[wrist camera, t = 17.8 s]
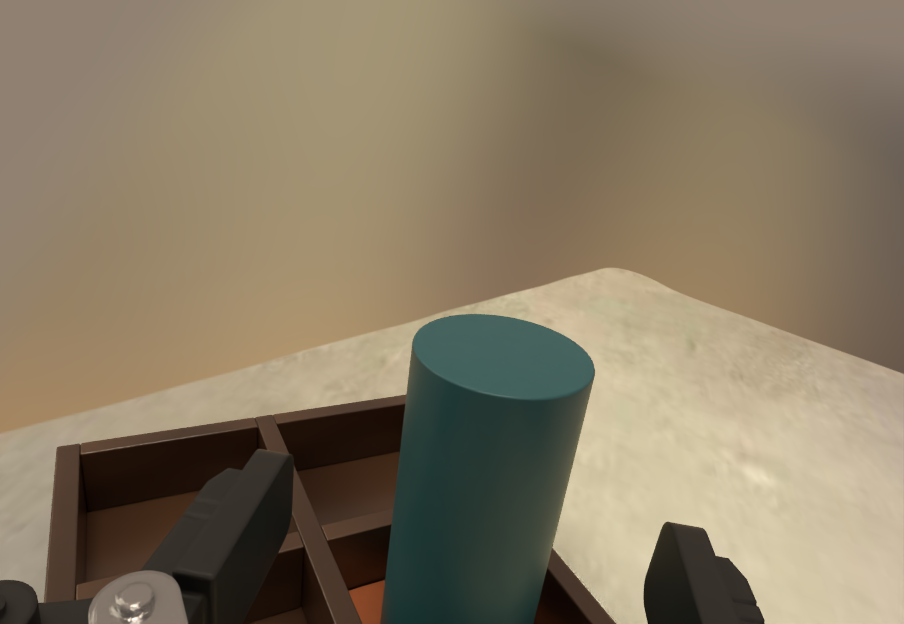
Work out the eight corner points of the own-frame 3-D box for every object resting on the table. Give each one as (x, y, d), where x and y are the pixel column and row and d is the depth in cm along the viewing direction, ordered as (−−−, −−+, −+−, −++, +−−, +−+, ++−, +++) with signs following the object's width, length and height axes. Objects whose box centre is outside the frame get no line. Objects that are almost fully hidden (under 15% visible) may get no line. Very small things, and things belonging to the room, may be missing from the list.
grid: (39, 1013, 11) (16, 925, 10) (66, 515, 22) (56, 446, 21) (613, 722, 18) (638, 648, 17) (415, 447, 29) (422, 391, 28)
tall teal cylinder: (414, 743, 16) (467, 412, 12) (357, 610, 19) (384, 320, 16) (551, 683, 18) (635, 383, 14) (477, 572, 22) (528, 308, 18)
